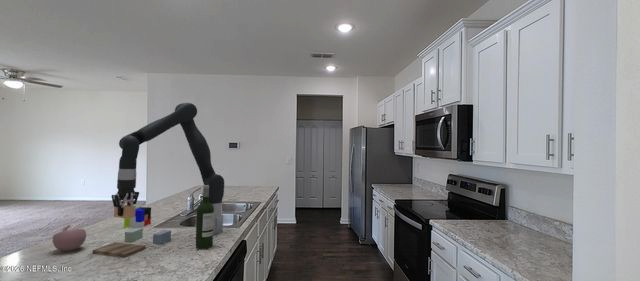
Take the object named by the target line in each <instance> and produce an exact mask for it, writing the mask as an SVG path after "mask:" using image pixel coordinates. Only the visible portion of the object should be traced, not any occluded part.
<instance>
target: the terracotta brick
mask: <svg viewBox="0 0 640 281" xmlns="http://www.w3.org/2000/svg"><path fill="white" fill-rule="evenodd" d="M113 207H114V206H113ZM136 207H137V206H136V205H133V206H130V205H127V204H124V207H123V208H124V209H123V216H118V208H117V207H114V209H113V217H114V218H120V219H124V218H132V217H135V209H136Z"/></svg>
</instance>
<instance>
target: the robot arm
mask: <svg viewBox="0 0 640 281" xmlns="http://www.w3.org/2000/svg"><path fill="white" fill-rule="evenodd" d="M197 114H198V108H197V106H196V105H195V104H193V103H192V102H182V103H179V104H177V105H176V107H175V109H174V111H173V112H172V113H170V114H167V115H166V116H163V117H161V118H159V119H157V120H154V121H152V122H150V123H147V124H146V125H144V126H142V127H141V128H139V129H138V130H135V131H134V132H130V133H129V134H127V135H124V136H122V138H120V140H119V142H118V145H119V147H120V149H121V156H120V158H119V161H118V171H117V180H116V189H117V192H116V194H111V201H112V203H113V207H117V208H118V216H123V209H124V208H123V207H124V205H125V204H126V205H130V206H135V205H136V204H137V203H138V202H137V201H138V198H139V195H140V192H139V191H135V189H136V188H137V187H136V186H137V162H138V160H137V158H138V155H139V150H140V145H142V144H144V143H146V142H147V143H148V142H149V141H151V140H153V139H155V138H157V137H158V136H160V135H162V134H163V133H165V132H167V131H168V130H170V129H172V128H174V127H176V126H177V125H180V126H181V129H182V131H183V132H184V133H183V134H184V135H185V138H186V141H187V144H188V146H189V149H190V151H191V153H192V156H193V159H194V160H195V163H196V165H197V168H198V169H199V173H200V176H201V179H202V184H203V186H204V185H209V202H210V203H211V204H212V205H213V207H214V220H213V236H215V235H217V236H218V235H219V234H221V233H223V230H224V228H223V227H224V226H223V225H224V215H223V214H222V212H223V211H222V210H223V198H224V196H225V195H224V194H225V179H224V177H223V176H222V175H221V174H216V171H215V170H214V168H213V164H212V161H211V160H212V158H211V149H210V146H209V144H208V142H207V140H206V138H205V136H204V135H203V134H202V132H201V131H200V130H199V128H198V127H197V125H196V123H195V117H196V116H197Z"/></svg>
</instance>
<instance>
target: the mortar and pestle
mask: <svg viewBox="0 0 640 281" xmlns="http://www.w3.org/2000/svg"><path fill="white" fill-rule="evenodd" d="M70 227H71V224H68V225H67V226H64V227H63V229H62V231H60V232H57V233H55V234H54V235H53V236H52V244H53V246H54V248H56V250H58V251H61V252H72V251H75V250H77V249H78V248H80V247H81V246H82V245H83V244H84V243H85V241H86V238H87V231H86V229H84V228H74V229H69V228H70Z"/></svg>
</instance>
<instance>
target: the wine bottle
mask: <svg viewBox="0 0 640 281" xmlns="http://www.w3.org/2000/svg"><path fill="white" fill-rule="evenodd" d="M202 188H203V190H202V191H203V192H202V201H201V203H200V204H199V205H198V206H197V208H196V220H195V221H196V223H195V248H196V249H198V250H206V249H207V250H208V249H211V248H212V247H213V245H214V243H213V241H214V235H213V220H214V207H213V205H212V204H211V203H210V202H209V185H204V184H203V186H202Z"/></svg>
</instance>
